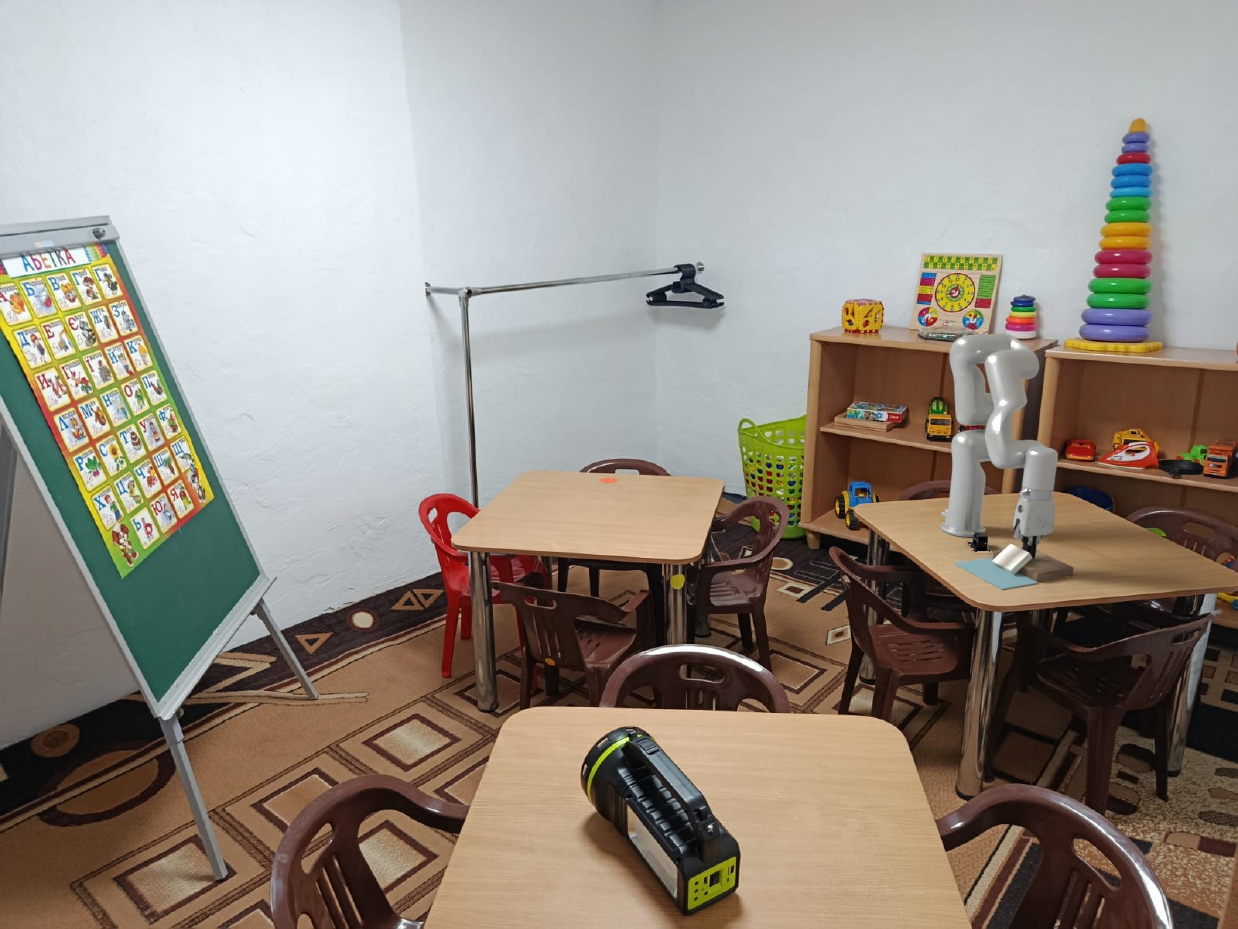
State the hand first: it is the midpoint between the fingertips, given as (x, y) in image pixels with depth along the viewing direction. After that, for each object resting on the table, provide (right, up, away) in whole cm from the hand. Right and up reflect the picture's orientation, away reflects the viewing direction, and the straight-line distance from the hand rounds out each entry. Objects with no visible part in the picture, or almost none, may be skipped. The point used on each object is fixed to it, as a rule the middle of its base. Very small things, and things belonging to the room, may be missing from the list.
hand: (1028, 556), depth 226 cm
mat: (-10, -4, -2) cm, 11 cm away
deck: (+2, -3, +1) cm, 4 cm away
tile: (-4, -1, -1) cm, 5 cm away
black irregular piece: (-6, 0, +17) cm, 18 cm away
